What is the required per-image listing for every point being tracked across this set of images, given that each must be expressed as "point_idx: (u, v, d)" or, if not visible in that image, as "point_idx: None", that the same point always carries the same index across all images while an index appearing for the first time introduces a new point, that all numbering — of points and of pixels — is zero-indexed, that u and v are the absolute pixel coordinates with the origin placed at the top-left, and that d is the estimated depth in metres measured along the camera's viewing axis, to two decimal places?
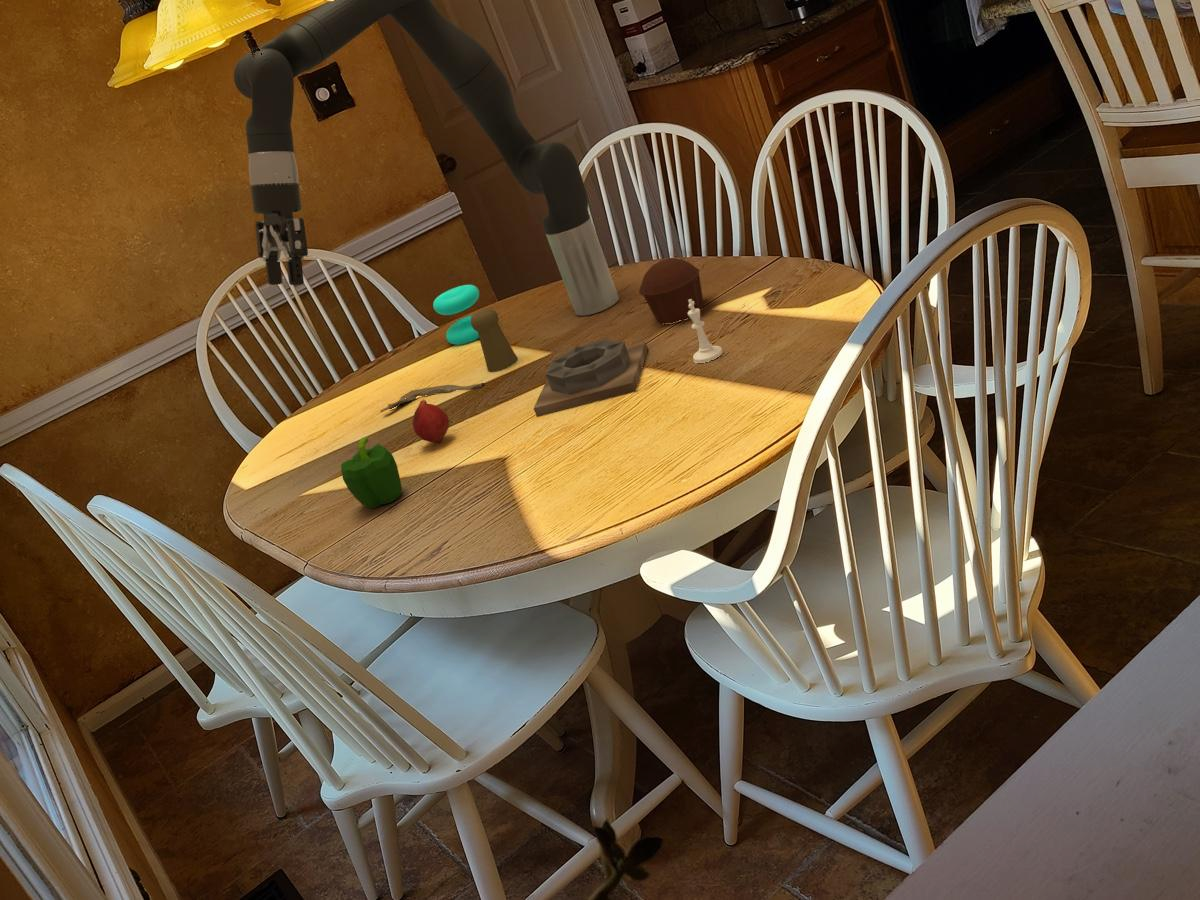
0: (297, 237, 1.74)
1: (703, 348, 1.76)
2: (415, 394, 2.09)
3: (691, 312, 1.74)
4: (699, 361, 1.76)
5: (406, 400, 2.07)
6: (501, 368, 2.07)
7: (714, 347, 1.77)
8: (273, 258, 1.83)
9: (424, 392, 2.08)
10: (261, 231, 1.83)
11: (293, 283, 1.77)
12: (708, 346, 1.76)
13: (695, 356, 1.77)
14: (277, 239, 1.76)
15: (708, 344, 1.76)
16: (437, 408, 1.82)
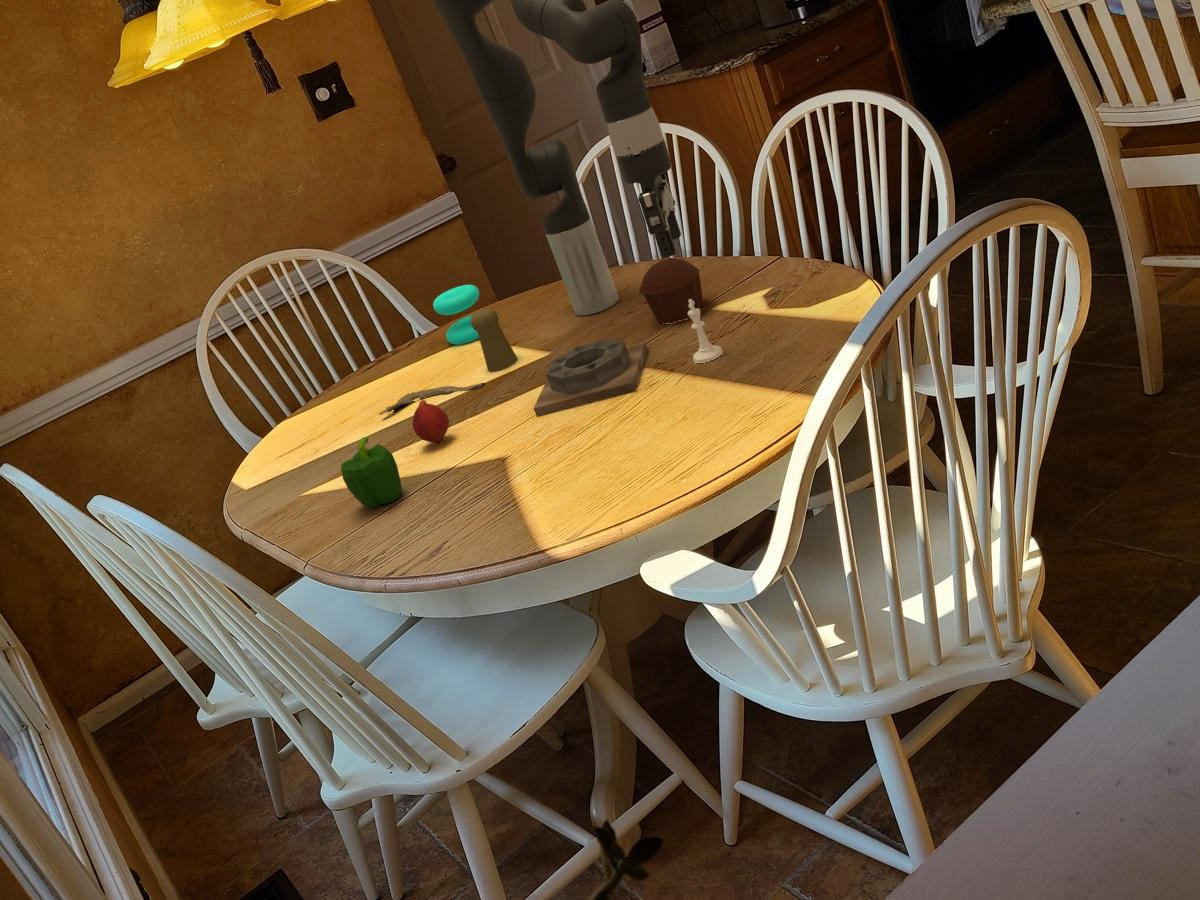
0: None
1: (703, 348, 1.76)
2: (413, 396, 2.08)
3: (691, 312, 1.74)
4: (699, 361, 1.76)
5: (404, 402, 2.06)
6: (501, 368, 2.07)
7: (714, 347, 1.77)
8: None
9: (422, 394, 2.08)
10: None
11: None
12: (708, 346, 1.76)
13: (695, 356, 1.77)
14: (670, 194, 1.69)
15: (708, 344, 1.76)
16: (437, 408, 1.82)
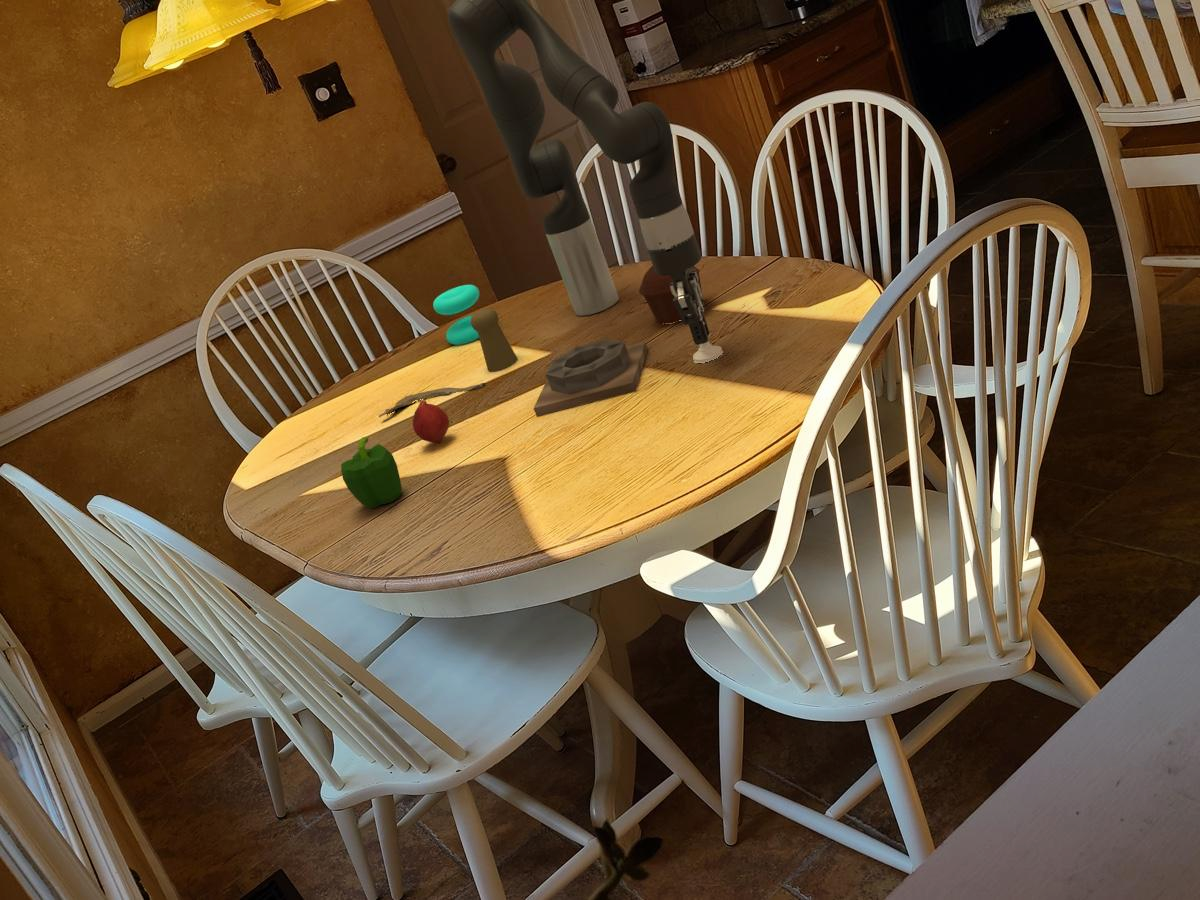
0: None
1: (703, 348, 1.76)
2: (412, 398, 2.07)
3: None
4: (699, 361, 1.76)
5: (403, 404, 2.06)
6: (501, 368, 2.07)
7: (714, 347, 1.77)
8: None
9: (421, 396, 2.07)
10: None
11: (707, 333, 1.77)
12: (708, 346, 1.76)
13: (695, 356, 1.77)
14: (699, 288, 1.74)
15: (708, 344, 1.76)
16: (437, 408, 1.82)
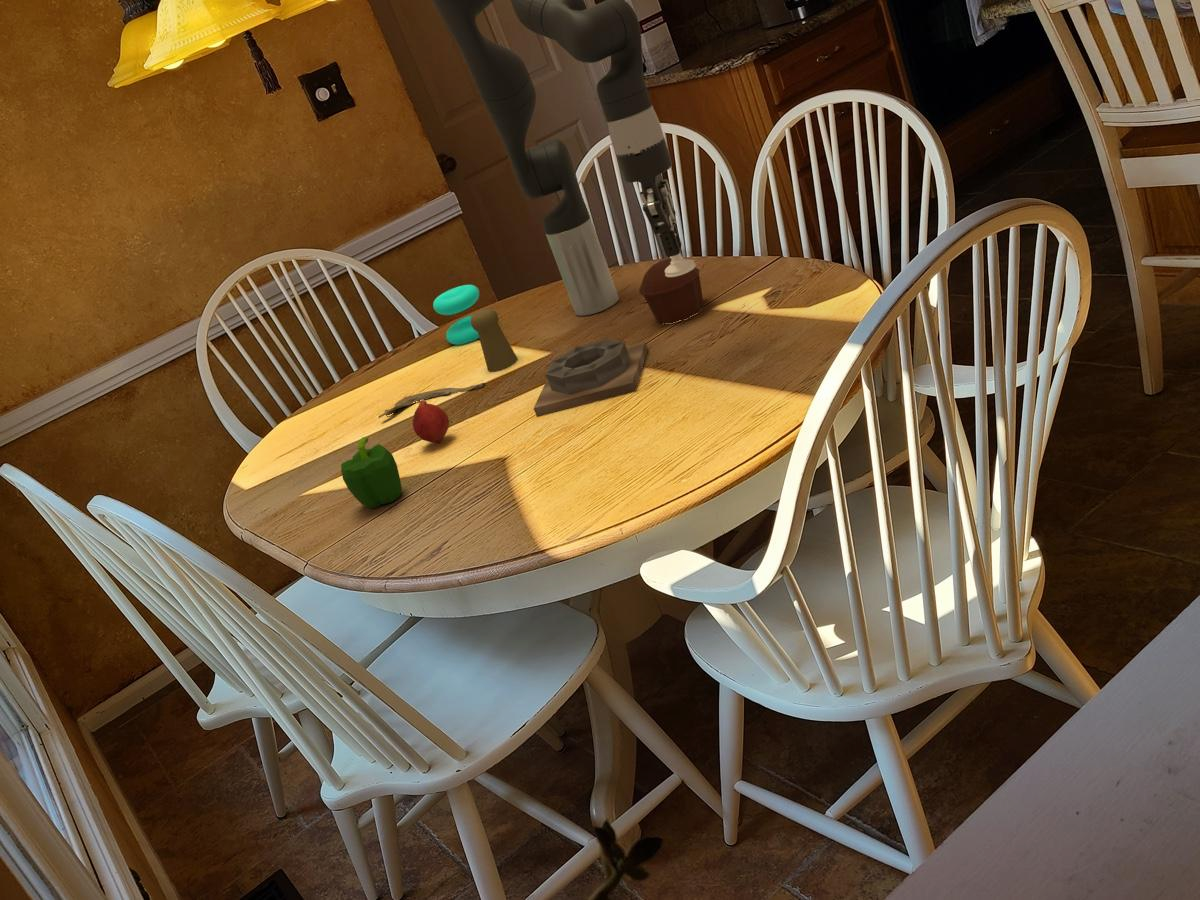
0: None
1: (675, 261, 1.70)
2: (411, 399, 2.07)
3: (662, 222, 1.68)
4: (671, 274, 1.70)
5: (403, 405, 2.05)
6: (501, 368, 2.07)
7: (686, 260, 1.71)
8: None
9: (420, 396, 2.07)
10: None
11: (679, 246, 1.72)
12: (680, 259, 1.70)
13: (667, 269, 1.71)
14: (670, 197, 1.68)
15: (680, 257, 1.70)
16: (437, 408, 1.82)
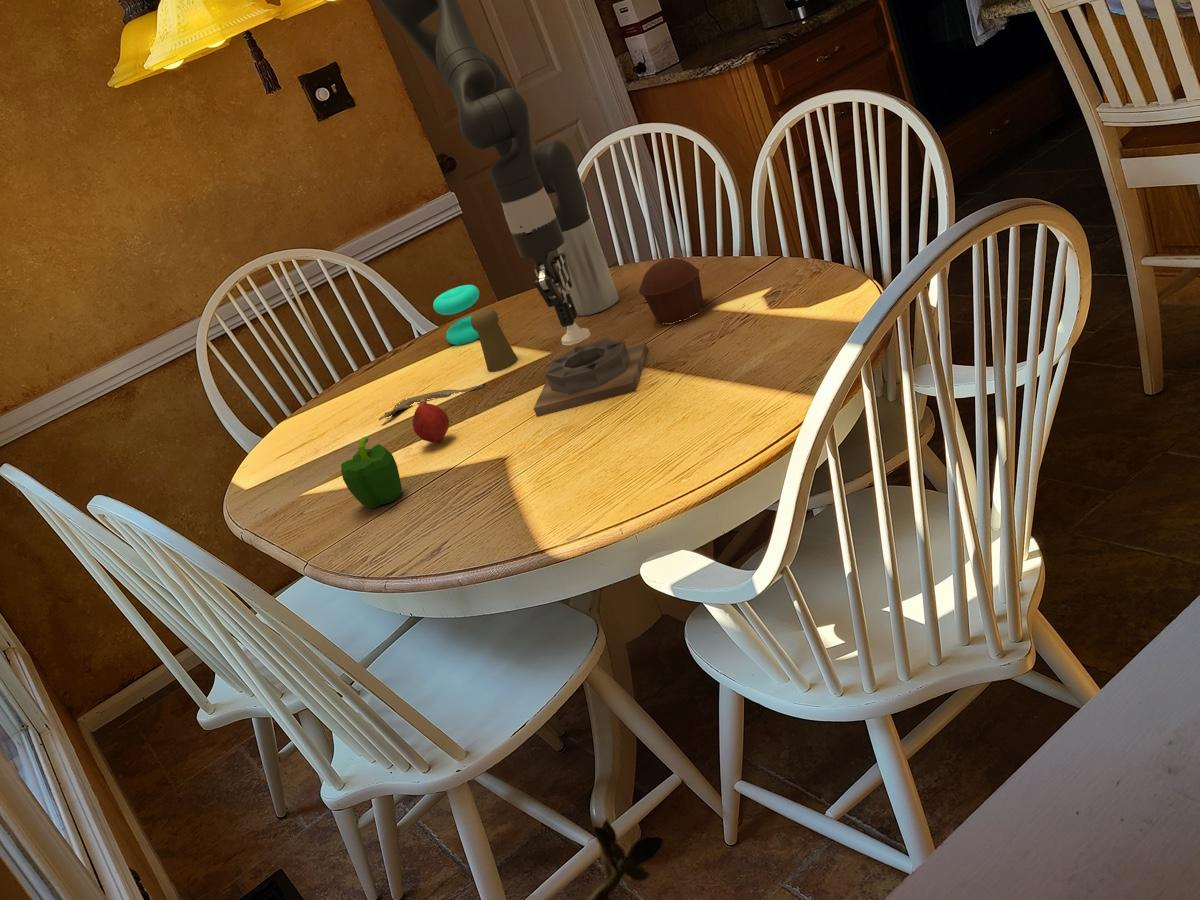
0: None
1: (570, 330, 1.80)
2: (410, 401, 2.06)
3: None
4: (566, 343, 1.80)
5: (403, 407, 2.05)
6: (501, 368, 2.07)
7: (581, 329, 1.81)
8: None
9: (420, 399, 2.06)
10: (551, 280, 1.73)
11: None
12: (575, 328, 1.80)
13: (563, 338, 1.81)
14: (565, 271, 1.78)
15: (575, 326, 1.80)
16: (437, 408, 1.82)
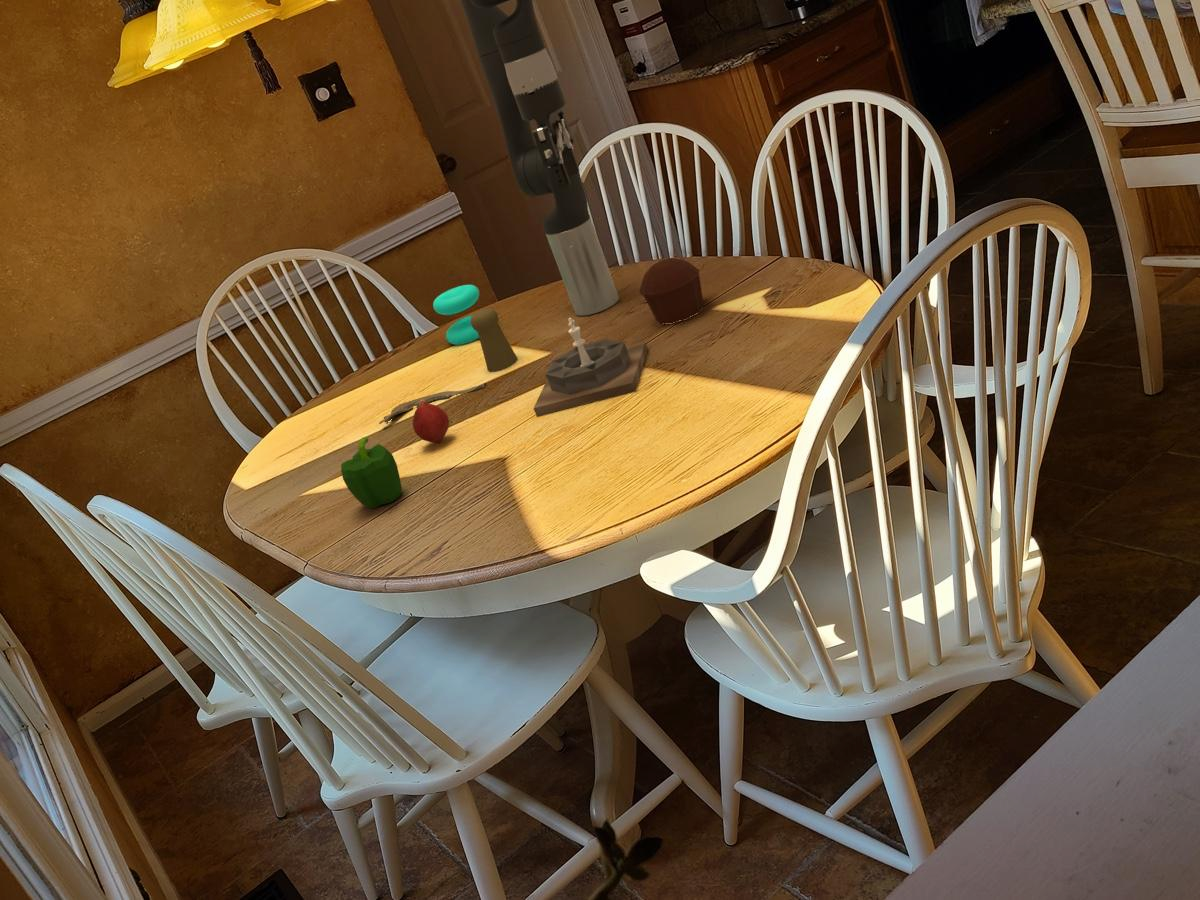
0: None
1: (584, 365, 1.83)
2: (409, 405, 2.04)
3: (571, 330, 1.81)
4: None
5: (402, 411, 2.03)
6: (501, 368, 2.07)
7: None
8: None
9: (418, 402, 2.05)
10: None
11: None
12: (589, 363, 1.83)
13: None
14: (566, 131, 1.83)
15: (589, 361, 1.83)
16: (437, 408, 1.82)
